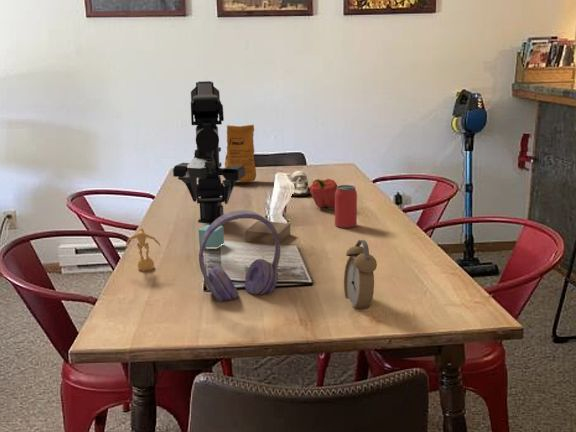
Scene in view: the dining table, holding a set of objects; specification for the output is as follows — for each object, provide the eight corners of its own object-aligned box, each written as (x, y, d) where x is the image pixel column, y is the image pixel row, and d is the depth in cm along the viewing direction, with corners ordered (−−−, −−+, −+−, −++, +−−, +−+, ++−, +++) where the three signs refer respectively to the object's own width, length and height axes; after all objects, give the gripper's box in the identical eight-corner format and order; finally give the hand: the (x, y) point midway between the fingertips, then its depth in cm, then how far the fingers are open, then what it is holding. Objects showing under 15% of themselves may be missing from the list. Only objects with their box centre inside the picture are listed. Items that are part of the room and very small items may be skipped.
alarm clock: (341, 297, 141) (342, 233, 137) (363, 295, 142) (364, 231, 138) (356, 319, 130) (357, 250, 126) (379, 317, 131) (381, 248, 127)
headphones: (207, 313, 134) (202, 222, 129) (197, 298, 142) (192, 212, 136) (287, 298, 141) (285, 211, 136) (273, 285, 148) (271, 202, 143)
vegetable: (323, 212, 207) (323, 183, 204) (301, 206, 214) (301, 177, 212) (346, 206, 214) (347, 177, 211) (325, 201, 221) (325, 172, 218)
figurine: (164, 268, 160) (161, 223, 156) (161, 277, 154) (157, 230, 151) (131, 269, 159) (127, 224, 156) (126, 278, 154) (122, 231, 150)
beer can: (355, 229, 189) (356, 190, 186) (333, 228, 191) (333, 189, 187) (357, 222, 196) (358, 185, 192) (336, 221, 197) (336, 184, 193)
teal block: (199, 250, 173) (198, 229, 171) (207, 245, 177) (206, 224, 176) (216, 252, 171) (215, 231, 170) (224, 246, 176) (223, 226, 174)
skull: (320, 192, 227) (299, 173, 224) (300, 212, 230) (279, 194, 227) (317, 181, 238) (298, 163, 235) (298, 200, 241) (278, 183, 238)
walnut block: (245, 244, 178) (245, 230, 177) (258, 233, 188) (257, 220, 186) (279, 247, 175) (279, 233, 174) (290, 236, 185) (290, 223, 183)
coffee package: (226, 177, 260) (224, 123, 254) (256, 176, 260) (255, 122, 254) (224, 182, 250) (221, 126, 244) (255, 182, 250) (254, 126, 244)
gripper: (160, 148, 162) (164, 207, 166) (228, 152, 156) (230, 213, 161) (181, 141, 172) (184, 197, 176) (245, 144, 166) (247, 202, 171)
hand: (210, 202), depth 171 cm, fingers open, 9 cm apart
